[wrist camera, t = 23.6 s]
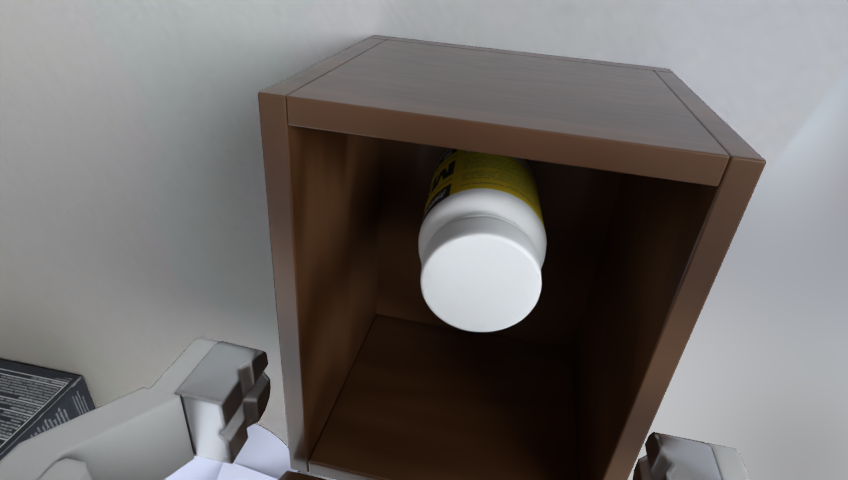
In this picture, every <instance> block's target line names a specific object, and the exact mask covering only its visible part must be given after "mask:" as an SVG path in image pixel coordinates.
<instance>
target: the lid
mask: <svg viewBox="0 0 848 480" xmlns="http://www.w3.org/2000/svg"><path fill="white" fill-rule="evenodd" d="M278 480H326V479H321V478H317V477H313V476H309V475H305V474H301V473H297V472H292V471H286V472H285V473H284V474H283V475H282V476H281V477H280V478H279V479H278Z"/></svg>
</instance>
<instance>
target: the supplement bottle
mask: <svg viewBox="0 0 848 480" xmlns="http://www.w3.org/2000/svg"><path fill="white" fill-rule="evenodd" d="M546 246H547V240H546V232H545V227H544V222H543V218H542V212H541V207H540V201H539V196H538V190H537V184H536V178H535V173H534V170H533V166H532V164H531V162H530V160H528V159H521V158H514V157H507V156H501V155H494V154H487V153H480V152H473V151H466V150H459V149H452V148H449V149H448V150H447V151H446V152H445V153H444V154H443V155H442V156H441V158H440V159H439V161H438V163H437V165H436V167H435V170H434V173H433V177H432V181H431V186H430V190H429V194H428V198H427V203H426V206H425V211H424V216H423V219H422V224H421V227H420V232H419V238H418V249H419V256H420V260H421V263H422V269H421V278H420V283H421V290H422V294H423V297H424V299H425V301H426V303H427V305H428V306H429V308H430V309H431V310H432V311H433V313H434V314H435V315H436V316H438V317H439V318H440V319H441V320H443V321H444V322H446V323H448V324H450V325H452V326H454V327H456V328H459V329H462V330H467V331H473V332H491V331H498V330H502V329H505V328H508V327H510V326H512V325H514V324H516V323H518V322H519V321H521V320H522V319H523V318H525V317H526V316H527V315H528V314H529V313H530V312H531V311H532V309H533V308H534V306H535V305H536V303H537V301H538V298H539V296H540V292H541V286H542V280H541V268H542V265H543V262H544V259H545V254H546Z"/></svg>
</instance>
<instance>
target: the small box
mask: <svg viewBox="0 0 848 480" xmlns="http://www.w3.org/2000/svg"><path fill="white" fill-rule="evenodd" d="M94 409H95V407H94V405H93V402H92V399H91V397H90V394H89V392H88V389H87V386H86V384H85V381H84V379H83V377H81V376H78V375H74V374H68V373H64V372H59V371H54V370H49V369H44V368H40V367H34V366H29V365H25V364H20V363H15V362H10V361H5V360H1V359H0V461H1V460H2V459H3V458H4V457H5V456H6V455H7V454H8V453H9V452H10V451H11V450H12V449H14V448H15V447H16V446H17V445H18V444H19V443H21V442H23V441H25V440H28V439H30V438H32V437H34V436H37V435H39V434H41V433H43V432H45V431H48V430H50V429H52V428H54V427H56V426H59V425H61V424H63V423H65V422H68V421H70V420H72V419H74V418H76V417H79V416H81V415H83V414H85V413H87V412H90V411H92V410H94Z"/></svg>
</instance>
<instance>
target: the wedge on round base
mask: <svg viewBox="0 0 848 480" xmlns="http://www.w3.org/2000/svg"><path fill="white" fill-rule="evenodd" d="M247 432H248V439H247V441H246V443H245V444H244V446H243V447H242V449H241V451H240V452H239V454H238V456H237V457H236V459H235V460H234V462H233V464H229V463H225V462H220V461H215V460H211V459H206V458H201V457H197V456H194V459H193V460H192V461H190V462H189V463H187V464H186V465H184V466H183V467H181V468H180V469H179V470H177V471H176V472H174V473H173V474H171V475H170V476H169V477H167V478H166V479H164V480H278V479H279V478H280V477H281V476H282V475H283V474H284V473H285V472H286V471H292V472H297V473H298V470H294V469H291V468H290V457H289V449H288V448H287V446H286V445H285V444H284V443H283V442H282V441H281V440H280V439H279V438H277V437H276V436H275V435H274V434H272V433H271V432H269V431H268V430H266V429H265V428H263V427H261V426H259V425H257V424H253V425H251V426H250V427H248V428H247Z"/></svg>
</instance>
